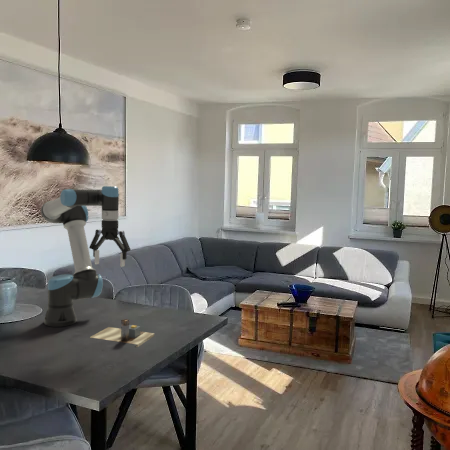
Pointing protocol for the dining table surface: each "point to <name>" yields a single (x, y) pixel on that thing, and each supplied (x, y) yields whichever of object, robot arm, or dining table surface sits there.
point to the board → (115, 335)
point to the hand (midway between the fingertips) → (109, 265)
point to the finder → (134, 331)
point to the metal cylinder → (125, 330)
